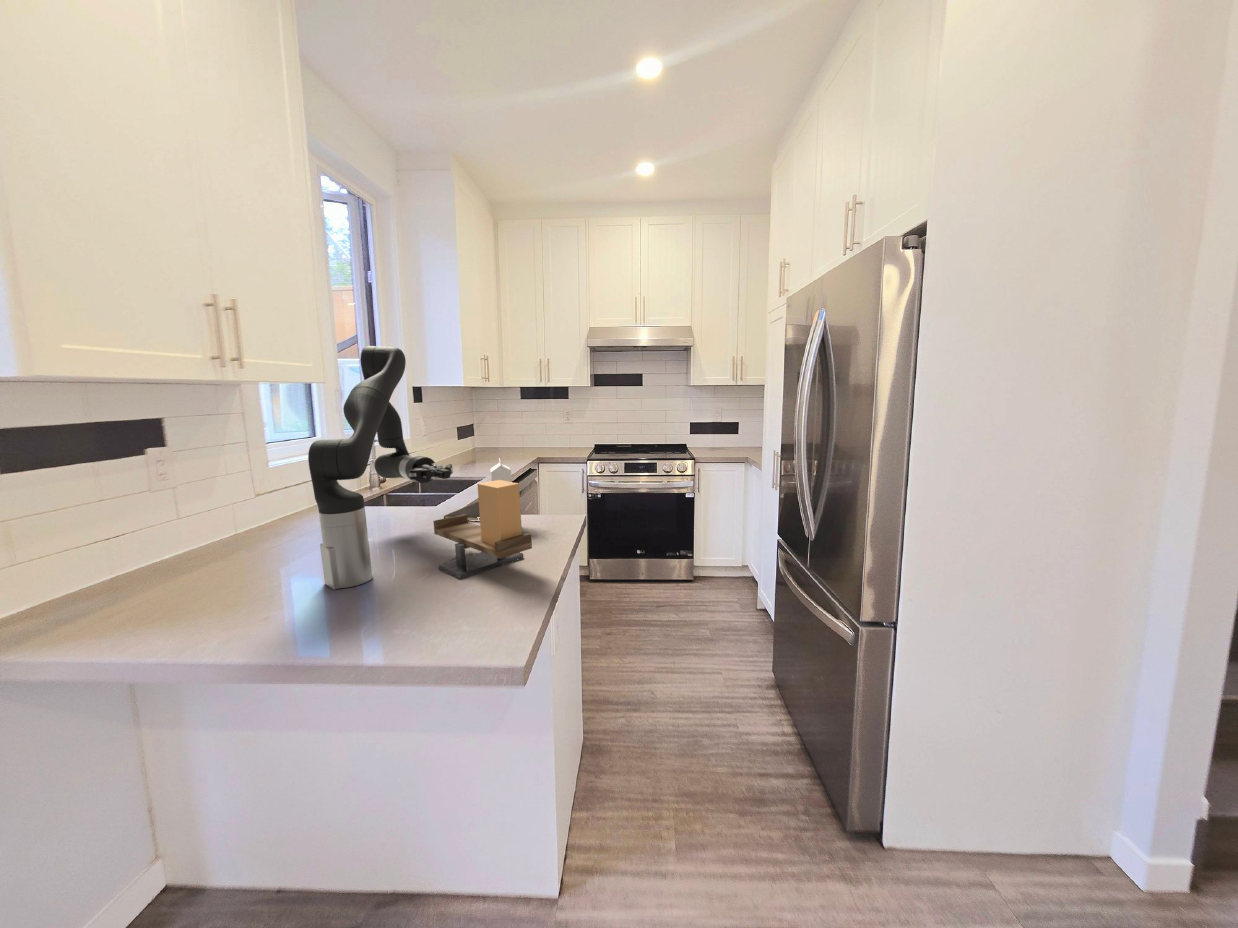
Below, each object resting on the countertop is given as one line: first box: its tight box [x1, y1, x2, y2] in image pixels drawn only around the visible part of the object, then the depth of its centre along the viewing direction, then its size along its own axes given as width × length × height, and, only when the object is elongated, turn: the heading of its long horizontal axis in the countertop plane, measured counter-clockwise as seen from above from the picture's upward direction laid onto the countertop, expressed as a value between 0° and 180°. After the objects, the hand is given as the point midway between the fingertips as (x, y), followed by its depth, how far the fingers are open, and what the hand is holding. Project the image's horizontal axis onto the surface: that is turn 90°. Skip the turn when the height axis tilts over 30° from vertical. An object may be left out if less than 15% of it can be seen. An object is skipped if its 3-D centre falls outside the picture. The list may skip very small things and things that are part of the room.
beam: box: [432, 514, 533, 559], centre depth 124 cm, size 30×9×4 cm, turn 47°
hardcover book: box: [443, 501, 480, 520], centre depth 177 cm, size 16×23×2 cm
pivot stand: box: [438, 542, 524, 580], centre depth 125 cm, size 10×18×6 cm, turn 137°
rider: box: [476, 480, 523, 546], centre depth 117 cm, size 6×8×14 cm
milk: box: [489, 457, 513, 482], centre depth 154 cm, size 6×6×22 cm
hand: (447, 474), depth 131 cm, fingers closed
